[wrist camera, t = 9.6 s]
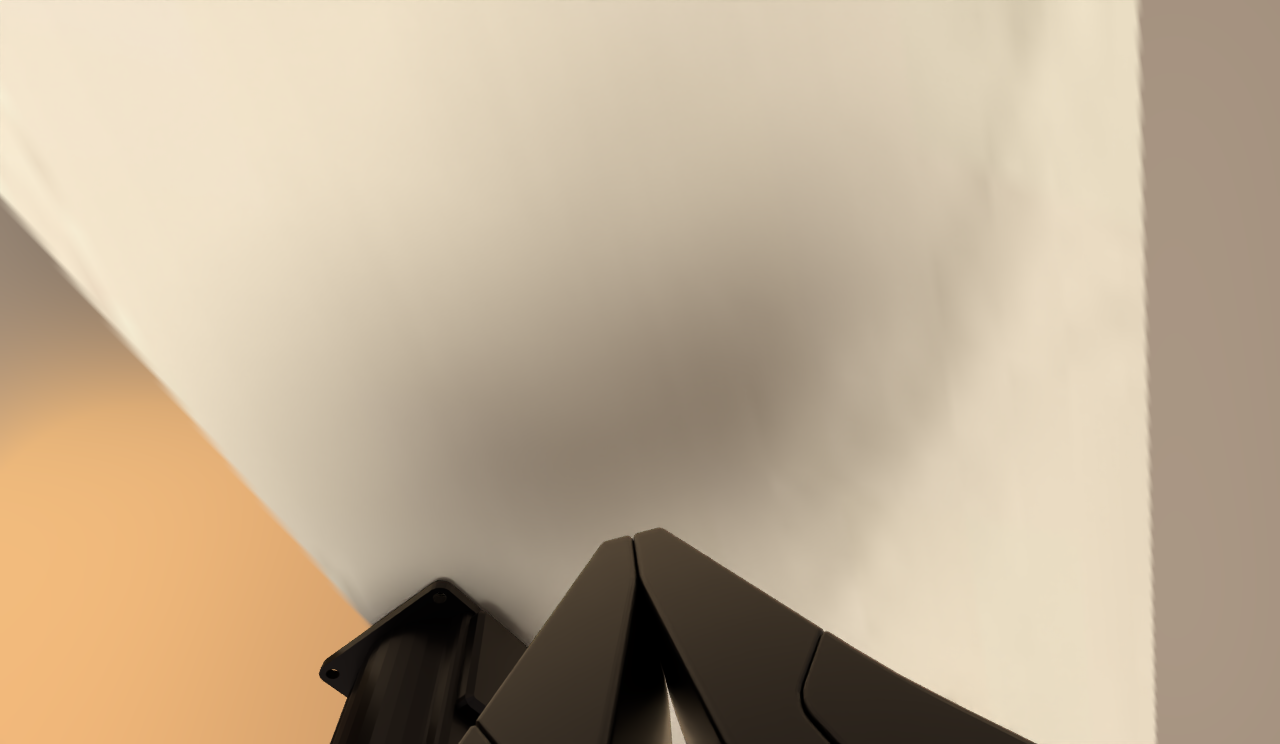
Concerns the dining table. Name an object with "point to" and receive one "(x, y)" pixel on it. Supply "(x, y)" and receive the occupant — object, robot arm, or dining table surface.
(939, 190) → the dining table surface
